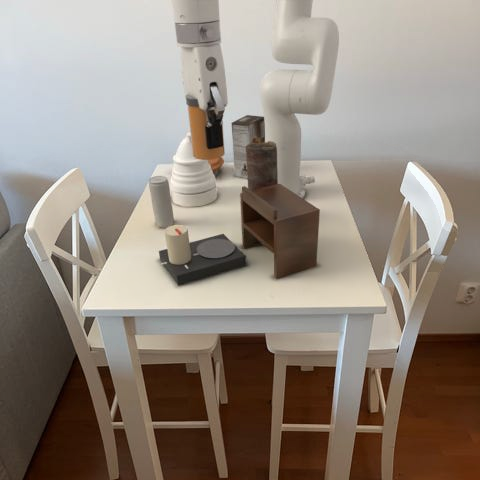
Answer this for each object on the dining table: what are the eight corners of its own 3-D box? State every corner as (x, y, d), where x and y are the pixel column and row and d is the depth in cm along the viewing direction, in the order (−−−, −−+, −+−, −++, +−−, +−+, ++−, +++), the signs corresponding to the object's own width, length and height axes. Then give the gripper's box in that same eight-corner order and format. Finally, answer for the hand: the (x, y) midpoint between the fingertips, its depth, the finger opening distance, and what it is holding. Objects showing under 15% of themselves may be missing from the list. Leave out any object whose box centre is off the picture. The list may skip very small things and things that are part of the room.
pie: (173, 184, 142) (171, 168, 139) (178, 166, 154) (176, 151, 151) (224, 181, 142) (223, 165, 139) (225, 163, 154) (224, 148, 151)
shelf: (279, 236, 113) (279, 175, 103) (316, 266, 101) (320, 200, 92) (242, 246, 110) (239, 185, 100) (276, 278, 98) (276, 212, 89)
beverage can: (171, 229, 119) (164, 183, 111) (153, 228, 119) (145, 182, 112) (176, 220, 122) (170, 175, 115) (159, 219, 123) (152, 175, 116)
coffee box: (249, 166, 151) (247, 114, 141) (266, 169, 148) (265, 116, 138) (233, 176, 145) (230, 122, 135) (251, 179, 142) (249, 124, 132)
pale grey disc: (225, 236, 109) (225, 235, 108) (241, 252, 102) (241, 251, 102) (191, 246, 106) (190, 244, 106) (205, 262, 100) (205, 261, 99)
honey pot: (225, 198, 132) (220, 132, 121) (184, 210, 127) (176, 143, 116) (203, 184, 141) (197, 122, 130) (164, 195, 135) (155, 131, 124)
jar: (217, 146, 95) (212, 88, 88) (231, 156, 90) (227, 95, 83) (187, 153, 92) (180, 93, 86) (199, 162, 88) (193, 101, 81)
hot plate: (223, 242, 111) (223, 232, 110) (246, 265, 103) (246, 255, 101) (153, 262, 106) (152, 252, 104) (171, 288, 97) (169, 277, 96)
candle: (244, 228, 117) (241, 147, 105) (254, 215, 122) (251, 137, 110) (274, 231, 115) (273, 149, 102) (282, 218, 120) (283, 139, 108)
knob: (165, 257, 102) (160, 227, 98) (186, 251, 104) (181, 221, 99) (174, 267, 99) (169, 236, 94) (194, 260, 101) (191, 230, 96)
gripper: (240, 36, 74) (245, 151, 85) (199, 27, 86) (208, 128, 97) (196, 42, 71) (207, 159, 82) (160, 32, 84) (174, 135, 95)
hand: (207, 141), depth 90 cm, fingers closed on jar, 6 cm apart
